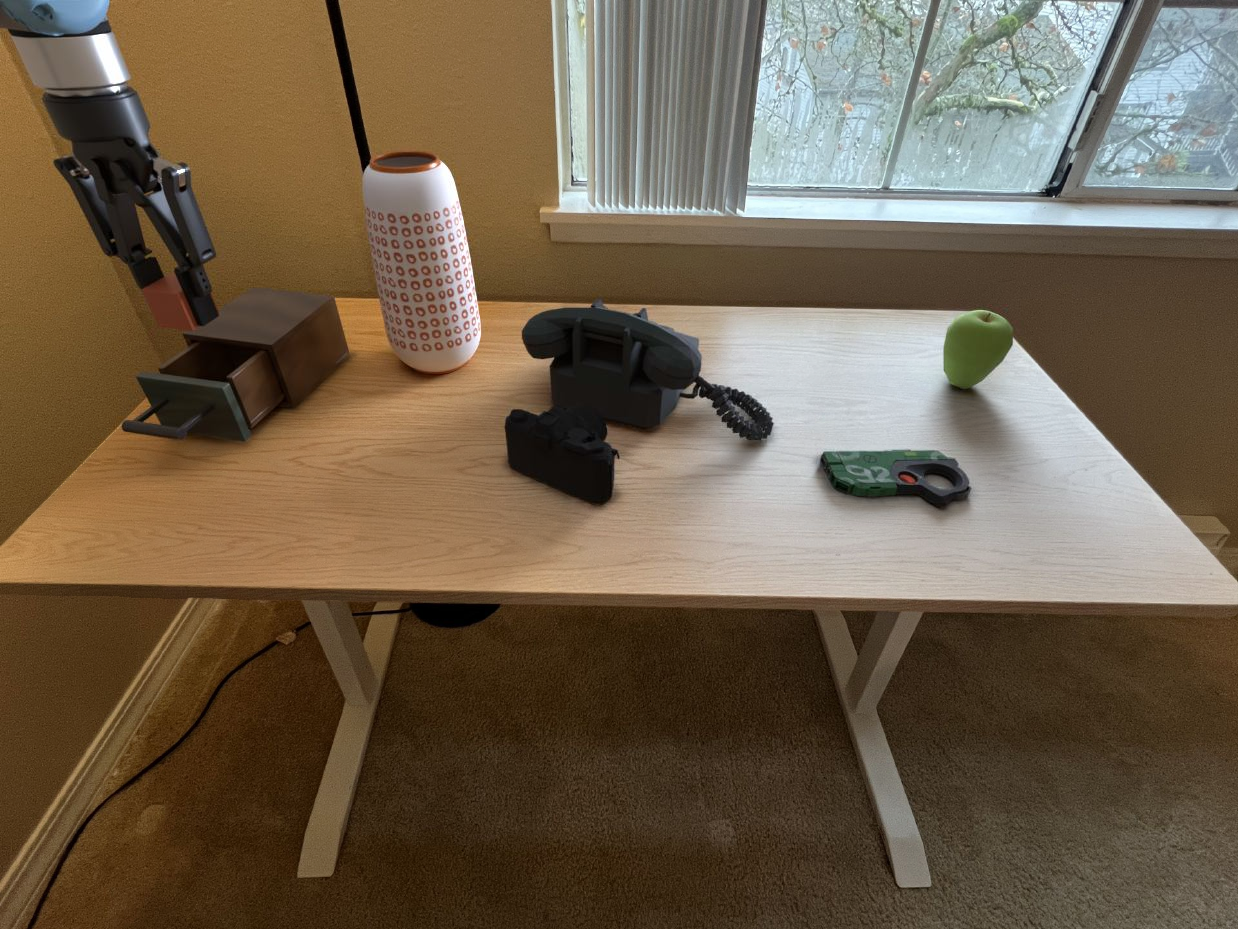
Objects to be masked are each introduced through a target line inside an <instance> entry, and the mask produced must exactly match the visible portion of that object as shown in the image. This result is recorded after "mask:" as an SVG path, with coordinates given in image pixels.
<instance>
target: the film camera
mask: <svg viewBox="0 0 1238 929" xmlns="http://www.w3.org/2000/svg"><path fill="white" fill-rule="evenodd" d="M503 429H504V433H505V443H506V451H507V463H508V465H509V467H510V468H511V469H513V470H515V471H516V472H519V473H522V474H523V475H525V476H527V477H530V478H532V479H534V480H536V481H538V482H541V483H543V484H545V485H547V486H549V487H551V488H553V489H556V490H559V491H561V492H562V493H565V494H567V495H569V496H571V497H574V498H576V499H580V500H582V501H584V502H587V503H590V504H592V505H603V504H606V503H607V502H609V501H610V500H611V499H612V497H613V490H614V485H615V467H616V466H615V464H616V458H617V459H618V460H620V459H621V458H620V453H619V450H618V449H616V448H612V445H611V444H610V443H609V442H606V440H607V437H608V425H607V421H605V420H604V418H603V417H602V415H601V414H600V413H599V412H598V411H597V410H596V409H595V408H593V407H591V406H589V405H586V404H576V405H575V406H573V407H570V408H568V409H567V410H565V409H562V408H561V407H559V406H557V405H553V406H551V407H550V408H549V409H548V410H547V411H546V410H544V411H542V412H541V413H540V414H539V415H538V414H535V413H532V412H530V411H528V410H524V409H523V408H514V409H512V410H511V411H510V413H509V415H507V416H506V417H505V420H504V426H503Z"/></svg>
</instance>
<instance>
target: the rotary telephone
mask: <svg viewBox="0 0 1238 929" xmlns="http://www.w3.org/2000/svg"><path fill="white" fill-rule="evenodd" d="M523 326H524V327H523V328H522V329H521V340H522V343H523V345H524V347H525V349H526V352H527V354H528V355H529V356H530V357H531V358H532V359H536V360H547V359H552V361H551V363H550V365H549V366H548V367H549V381H550V382H549V384H550V385H549V386H550V399H551V400H550V401H551V403H552V404H554V405H555V406H556V407H559V408H562V409H565V410H567V409H568V408H570V407H573V406H575V405H576V404H586V405H589V406H591V407H593V408H595V409H596V410H597V411H598V412H599V413H600V414H601V415H602V417H603V418H604V420H605V422H609V423H613V424H617V425H621V426H626V427H630V428H634V429H637V430H641V431H643V430H648V431H649V430H652V429H655V428H657V427H658V426H660V425H661V424H663V422H664V421H665V420H666V419H667V418H668V417H669V416H670V415H671V414H672V412H674V411H675V409H676V408H677V406H678V403H679V401H680V400H681V398H684V399H690V400H694V399H695V398H697V397H699V398H701V399H705V398H706V399H707V400H709V401H711V402H712V404H711V407H712V408H713V409H715V410H716V412H715V415H716V416H718V417H720V422H721V423H723V424H726V428H727V429H731V431H732V434H738V436H739V439H743V438H745V439H746V441H748V442H749V441H754V442H762V440H768V436H771V435H772V431H773V427H774V425H775V422H773V419H774V418H773V417H772V416H770V415H771V412H769V411H768V410H767V408H766V407H764V406H763V403H760V402H759V401H758V399H756V398H754V397H753V396H752V395H751V394H749V393H748V394H746V392H745V391H739V389H738V388H732V387H731V386H725V385H723V384H717V383H711V382H708V380H706V379H704V377H702V376H701V375H700V373H701V372H702V371H701V369H702V362H703V361H702V360H703V358H702V357H703V355H702V354H701V352H700V350H699V345H700V339H699V338H698V337H695V336H692V335H689V334H686V333H682V332H680V331H676V330H675V329H674V327H670V326H666V325H662V324H658V322H655V321H652V320H649V315H648V311H647V308H645V307H642V308H640V310H639V312H635V313H630V312H626V311H621V310H617V309H616V310H615V309H611V308H609V307H606V306H605V305H604V303H603V301H602V300H601V299H598V298H596V300H594V302H592V304H591V305H590V306H589V307H561V308H553V309H547V310H544V311H541V312H539V313H537V314H535V315H533V316H532V317H530V318H529V319H528V320H527V321H526V323H525V325H523ZM694 383H695V384H694ZM693 384H694V386H693V388H692V392H691V393H688V392H684V390H686V389H688V387H690V386H691V385H693ZM736 407H738V408H739V409H740V410H741V411H743V412H744V413H745V414H747V415H748V417H750V418H751V421H753V422H750V419H746V418H745V415H740V411H737V410H736Z"/></svg>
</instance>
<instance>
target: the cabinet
mask: <svg viewBox="0 0 1238 929" xmlns="http://www.w3.org/2000/svg"><path fill="white" fill-rule="evenodd" d="M218 311H219V316H218V317H217V318H215V319H214V320H212V321H211V322H209V323H208V324H206V325H205V326H200V327H199V328H197V329H196V330H194V331H189V330H184V331H183V332H182V333H181V335H182V337H183V339H184V341H185V343H186V345H187V347H189V346H190V345H192V344H193V343H195V342H196V341H205V342H212V343H220V344H228V345H236V346H244V347H252V348H259V349H267V350H269V353H270V356H271V359H272V361H273V364H274V367H275V370H276V372H277V375H278V378H279V381H280V383H281V386H282V389H283V392H284V394H285V398H284V399H283V400H282V401H281V402H280V403H279V404H278V405H277V406H276V407H279V408H287V409H296V408H297V407H298V406H299V405H300V404H301V403H302V402H304V400H305V399H306V398H308V397H309V396H310V395H311V394H312V393H313V392H314V391H315V390H316V388H317V389H318V387H319V386H320V385H321V384H322V383H323V382H324V381H326V379H327V378H328V377H329V376H331V375H332V374H333V372H335V371H336V370H337V369H338V368H339V367H340V366H341V365H342V364H343V363H344V362H345V361H346V360H347V359H348V358H350V356H351V353H350V349H349V346H348V342H347V340H346V339H347V338H346V335H345V332H344V328H343V324H342V321H341V317H340V313H339V309H338V306H337V302H336V297H335V295H327V294H321V293H320V294H319V293H311V292H302V291H293V290H286V289H285V290H284V289H275V288H267V287H258V286H253V287H251V288H250V289H248V290H246V291H245V292H244V293H242V294H241V295H239V296H237V297H236V298H234V299H233V300H231V301H230V302H228V303H227V304H225V305H223V306H222V307H221V308H219V309H218Z"/></svg>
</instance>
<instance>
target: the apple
mask: <svg viewBox="0 0 1238 929" xmlns="http://www.w3.org/2000/svg"><path fill="white" fill-rule="evenodd" d="M1013 330H1014V328H1013V327H1012V326H1011V324H1010V322H1009V320H1007V319H1006V318H1005V317H1003V316H1001V315H999V314H998V313H995V312H992V311H990V310H983V309H976V310H971V311H968V312H964V313H962V314H959V315H957V316H956V317H955V318H954V320H953V321H951V323H950V324H949V325H948V326H947V327H946V331H945V337H944V342H943V350H942V351H943V352H942V358H943V359H942V360H943V363H942V364H943V372H944V374H945V376H946V378H947V380H948V382H949V383H950V384H951V385H952V386H954V387H957V388H959V389H963V390H967V389H970V388H972V387H974V386H976V385H977V384H979V383H982V382H983V381H984V380H985V379H986V378H987V377H988V376H989V375H990V374H991V373H992V372H993V371H995V370H996V369H997V367H998V366H1000V364H1002V363H1003V361H1004V360H1005V359H1006V356H1007V355H1008V353H1009V352H1010V350H1011V349H1012V347H1013V345H1014V331H1013Z"/></svg>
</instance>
